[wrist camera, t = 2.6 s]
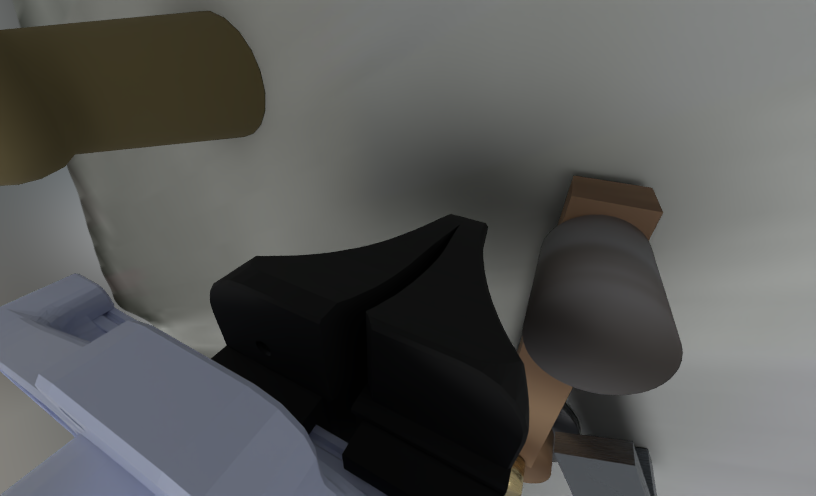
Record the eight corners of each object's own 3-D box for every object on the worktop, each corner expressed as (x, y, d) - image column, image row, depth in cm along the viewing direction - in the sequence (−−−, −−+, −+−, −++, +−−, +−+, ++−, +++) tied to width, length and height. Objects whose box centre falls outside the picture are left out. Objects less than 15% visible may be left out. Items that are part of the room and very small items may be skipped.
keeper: (590, 453, 19) (591, 535, 16) (560, 376, 17) (553, 452, 14) (652, 463, 17) (666, 557, 14) (625, 379, 15) (635, 466, 12)
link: (543, 459, 20) (530, 580, 16) (475, 428, 22) (446, 530, 17) (689, 193, 10) (771, 316, 6) (544, 170, 12) (515, 252, 7)
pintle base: (466, 427, 24) (446, 491, 20) (461, 362, 20) (436, 425, 17) (572, 465, 20) (569, 548, 17) (587, 396, 17) (586, 482, 14)
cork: (272, 52, 15) (-119, 62, 7) (259, 157, 19) (1, 245, 11) (177, -16, 16) (-300, -84, 7) (183, 100, 19) (-121, 144, 11)
